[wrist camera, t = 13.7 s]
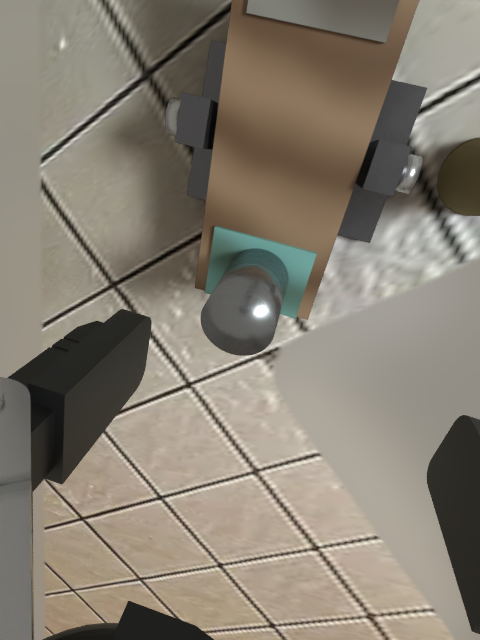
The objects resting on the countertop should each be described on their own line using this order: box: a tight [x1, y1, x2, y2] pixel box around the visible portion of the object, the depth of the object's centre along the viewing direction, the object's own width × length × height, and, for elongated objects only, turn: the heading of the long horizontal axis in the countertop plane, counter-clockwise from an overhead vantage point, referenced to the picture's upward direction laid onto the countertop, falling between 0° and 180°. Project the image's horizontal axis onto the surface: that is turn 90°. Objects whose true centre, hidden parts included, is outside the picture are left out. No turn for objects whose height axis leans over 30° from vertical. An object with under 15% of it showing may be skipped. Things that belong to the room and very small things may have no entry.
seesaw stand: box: [165, 40, 427, 243], centre depth 29 cm, size 12×17×9 cm
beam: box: [195, 0, 419, 320], centre depth 26 cm, size 25×10×2 cm, turn 168°
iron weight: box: [201, 248, 289, 356], centre depth 28 cm, size 5×5×7 cm
